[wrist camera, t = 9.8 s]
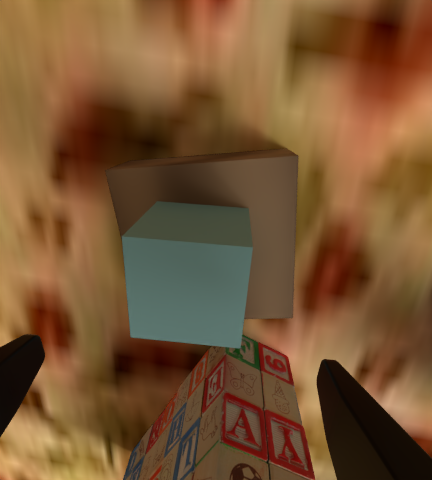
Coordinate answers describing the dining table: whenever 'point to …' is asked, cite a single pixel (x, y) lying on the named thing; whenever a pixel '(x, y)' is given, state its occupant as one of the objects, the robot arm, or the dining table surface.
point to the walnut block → (229, 195)
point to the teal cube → (188, 273)
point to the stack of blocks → (228, 422)
